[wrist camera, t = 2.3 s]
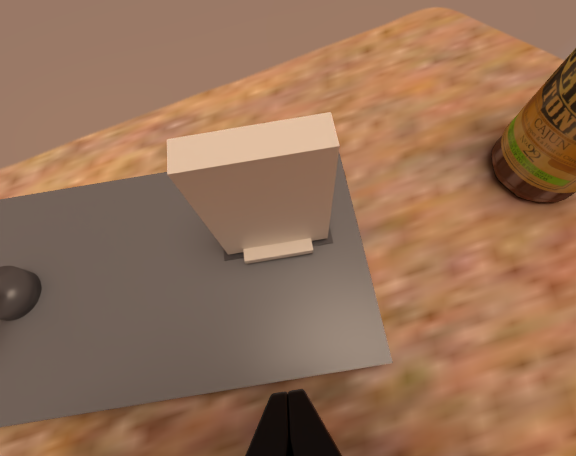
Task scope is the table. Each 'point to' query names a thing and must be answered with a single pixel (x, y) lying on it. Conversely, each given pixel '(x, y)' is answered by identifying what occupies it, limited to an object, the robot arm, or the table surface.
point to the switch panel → (166, 302)
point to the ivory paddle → (261, 184)
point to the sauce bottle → (542, 141)
